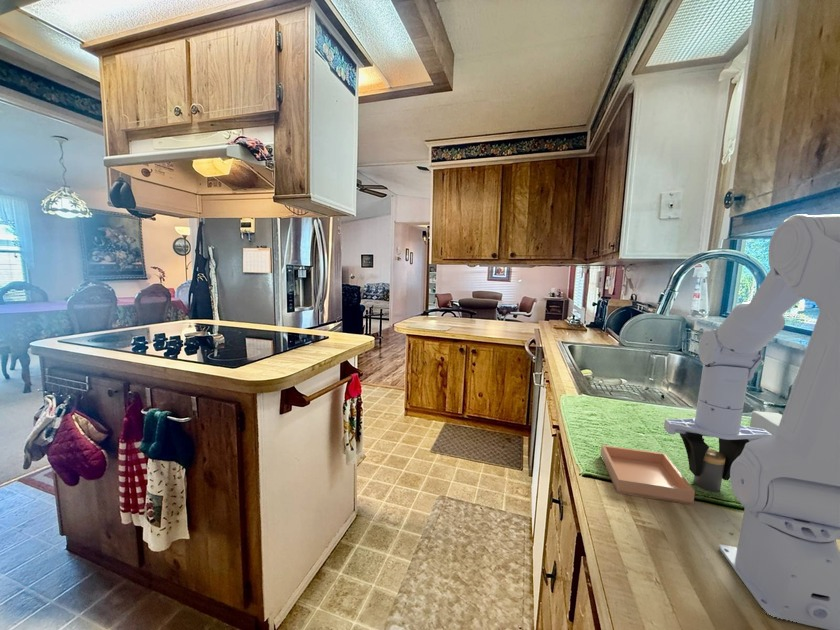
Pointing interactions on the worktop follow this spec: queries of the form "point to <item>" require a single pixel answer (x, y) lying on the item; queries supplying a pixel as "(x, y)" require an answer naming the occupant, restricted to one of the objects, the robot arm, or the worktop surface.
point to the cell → (711, 471)
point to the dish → (646, 475)
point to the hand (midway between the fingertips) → (708, 474)
